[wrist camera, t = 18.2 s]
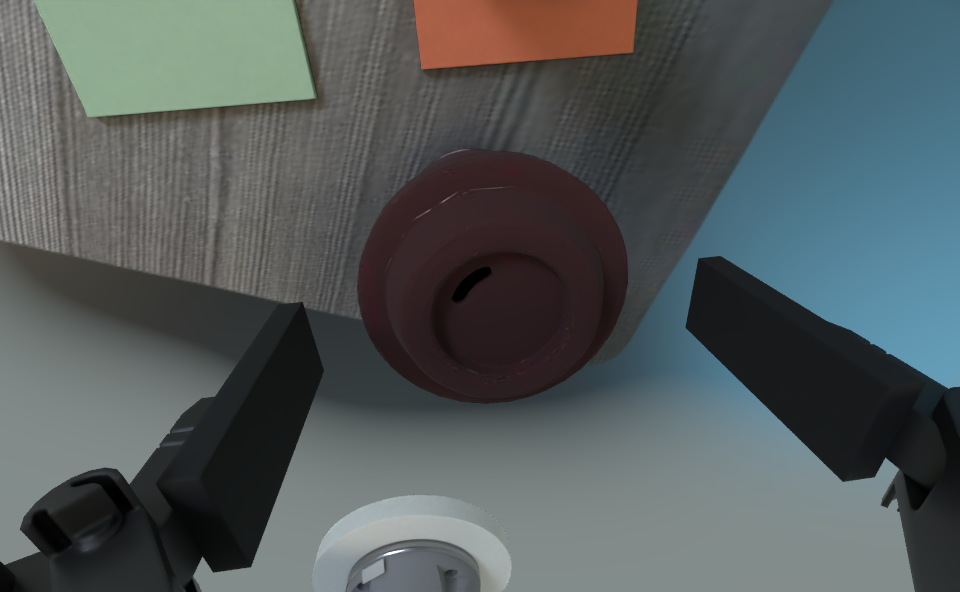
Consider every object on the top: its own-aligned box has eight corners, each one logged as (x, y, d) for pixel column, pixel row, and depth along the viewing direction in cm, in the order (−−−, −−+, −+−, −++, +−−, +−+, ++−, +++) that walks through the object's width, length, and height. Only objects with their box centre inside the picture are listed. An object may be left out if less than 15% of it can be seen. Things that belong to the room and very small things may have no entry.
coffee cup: (551, 260, 29) (650, 403, 16) (414, 289, 29) (397, 457, 16) (534, 109, 25) (650, 131, 11) (372, 143, 25) (298, 205, 11)
